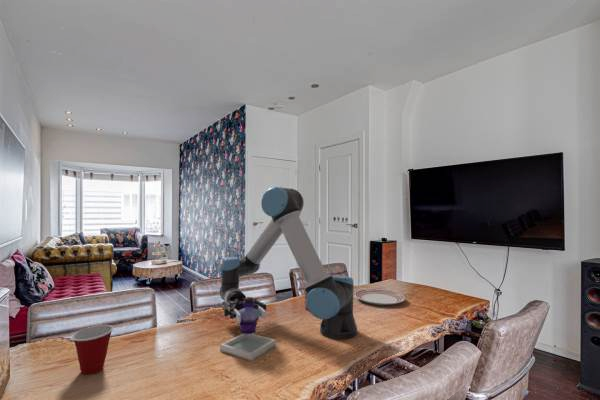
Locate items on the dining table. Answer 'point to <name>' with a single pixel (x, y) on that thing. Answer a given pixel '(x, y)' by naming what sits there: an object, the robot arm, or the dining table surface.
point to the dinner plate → (379, 296)
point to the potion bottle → (248, 316)
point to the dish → (248, 346)
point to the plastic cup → (92, 347)
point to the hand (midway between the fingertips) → (252, 317)
